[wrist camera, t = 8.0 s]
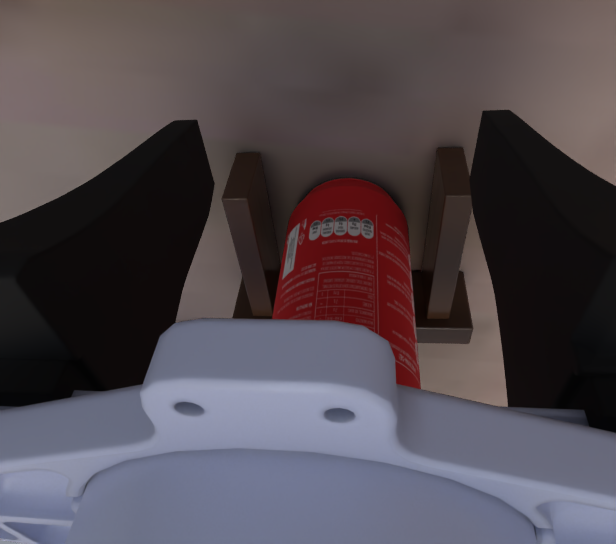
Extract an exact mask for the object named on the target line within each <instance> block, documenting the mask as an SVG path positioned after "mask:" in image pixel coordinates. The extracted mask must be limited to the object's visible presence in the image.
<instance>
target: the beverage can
mask: <svg viewBox="0 0 616 544" xmlns="http://www.w3.org/2000/svg"><path fill="white" fill-rule="evenodd" d="M272 319H286V320H335V321H341V322H346V323H352V324H358V325H363V326H365V327H366V328H368V329H369V330H371V331H373V332H374V333H376V334H378V335H379V336H381V337H382V338H384V339H386V340H387V341H388V342H389V344H390V347H391V349H392V352H393V354H394V357H395V369H396V384H399V385H404V386H408V387H413V388H417V389H421V386H420V373H419V361H418V348H417V336H416V323H415V310H414V298H413V285H412V273H411V260H410V247H409V235H408V225H407V221H406V219H405V216H404V214H403V213H402V211H401V210H400V208H399V207H398V206H397V205H396V204H395V202H394V200H393V199H392V197H391V196H390V195H389V194H388V192H386V191H385V190H384V189H383V188H382V187H380V186H379V185H377V184H375V183H373V182H370V181H368V180H365V179H360V178H353V177H343V178H335V179H331V180H328V181H325V182H323V183H321V184H319V185H317V186H316V187H314V188H313V189H312V190H311V191H310V192H309V193H308V194H307V195H306V196H305V198H304V199H303V201H301V202H300V203H299V204H298V205H297V207H296V208H295V209H294V211H293V212H292V214H291V216H290V219H289V223H288V228H287V234H286V240H285V246H284V252H283V257H282V263H281V269H280V275H279V281H278V287H277V293H276V298H275V304H274V310H273V316H272Z"/></svg>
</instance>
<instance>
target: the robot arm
mask: <svg viewBox="0 0 616 544" xmlns="http://www.w3.org/2000/svg"><path fill="white" fill-rule="evenodd" d="M469 182H470V191H471V200H472V208H473V214H474V218H475V222H476V225H477V229H478V233H479V237H480V240H481V244H482V247H483V251H484V254H485V258H486V262H487V265H488V269H489V272H490V276H491V280H492V284H493V289H494V293H495V300H496V306H497V313H498V320H499V327H500V335H501V343H502V351H503V359H504V369H505V379H506V388H507V399H508V407H498V406H493V405H489V404H484V403H480V402H475V401H471V400H467V399H462V398H458V397H453V396H449V395H444V394H440V393H435V392H431V391H426V390H422V389H417V388H413V387H408V386H404V385H399V384H396V369H395V357H394V354H393V352H392V349H391V347H390V344H389V342H388V341H387V340H386V339H384V338H382V337H381V336H379V335H378V334H376V333H374V332H373V331H371V330H369V329H368V328H366V327H365V326H363V325H358V324H352V323H346V322H341V321H335V320H286V319H233V318H201V319H195V320H188V321H182V322H178V323H175V321H176V316H177V312H178V307H179V303H180V299H181V294H182V290H183V287H184V283H185V280H186V277H187V274H188V271H189V269H190V266H191V263H192V260H193V258H194V255H195V252H196V249H197V247H198V244H199V241H200V238H201V236H202V233H203V230H204V227H205V224H206V221H207V218H208V216H209V211H210V207H211V202H212V196H213V190H214V185H215V183H214V180H213V176H212V173H211V169H210V165H209V162H208V158H207V154H206V151H205V147H204V143H203V140H202V136H201V132H200V129H199V125H198V121H197V120H177V121H173V122H171V123H170V124H168V125H167V126H165V127H164V128H162V129H161V130H159V131H158V132H157V133H155V134H154V135H153V136H151V137H150V138H149V139H147V140H146V141H145V142H143V143H142V144H141V145H139V146H138V147H137V148H135V149H134V150H133V151H131V152H130V153H129V154H128V155H126V156H125V157H123V158H122V159H121V160H119V161H118V162H116V163H115V164H113V165H112V166H110V167H109V168H107V169H106V170H105V171H103V172H102V173H100V174H99V175H97V176H96V177H94V178H93V179H91V180H89V181H88V182H86V183H84V184H83V185H81V186H79V187H77V188H76V189H74V190H72V191H70V192H68V193H67V194H65V195H63V196H61V197H59V198H57V199H55V200H53V201H51V202H48V203H46V204H44V205H42V206H40V207H37V208H35V209H33V210H31V211H29V212H27V213H24V214H22V215H19V216H17V217H14V218H12V219H9V220H7V221H4V222H1V223H0V540H3V541H10V542H15V543H21V544H616V186H615V185H613V184H611V183H609V182H607V181H605V180H604V179H602V178H600V177H598V176H597V175H595V174H593V173H592V172H590V171H589V170H587V169H586V168H584V167H583V166H581V165H580V164H578V163H577V162H575V161H574V160H572V159H571V158H570V157H568V156H567V155H565V154H564V153H563V152H561V151H560V150H559V149H557V148H556V147H555V146H553V145H552V144H551V143H550V142H548V141H547V140H546V139H545V138H543V137H542V136H541V135H540V134H539V133H537V132H536V131H535V130H534V129H533V128H531V127H530V126H529V125H528V124H527V123H525V122H524V121H523V120H522V119H520V118H519V117H518V116H517V115H515V114H514V113H513V112H511V111H510V110H490V111H483V112H482V117H481V122H480V127H479V133H478V138H477V143H476V148H475V153H474V158H473V164H472V169H471V174H470V179H469Z"/></svg>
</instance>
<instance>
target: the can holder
mask: <svg viewBox="0 0 616 544" xmlns="http://www.w3.org/2000/svg"><path fill="white" fill-rule="evenodd" d="M469 179H470V175H469V171H468V166H467V162H466V158H465V153H464V149H463V148H462V147H460V148H438V149H437V153H436V161H435V169H434V177H433V185H432V193H431V201H430V210H429V218H428V226H427V234H426V242H425V250H424V258H423V266H422V272H411V273H412V285H413V298H414V310H415V323H416V336H417V343H451V344H469V342H470V339H471V335H472V331H473V324H472V319H471V313H470V308H469V302H468V296H467V291H466V285H465V279H464V274H463V272H459V268H460V263H461V258H462V253H463V248H464V243H465V239H466V234H467V229H468V224H469V219H470V214H471V209H472V200H471V191H470V182H469ZM222 202H223V206H224V209H225V213H226V217H227V221H228V224H229V228H230V232H231V235H232V239H233V243H234V246H235V250H236V254H237V257H238V261H239V265H240V269H241V272H242V281H241V285H240V289H239V293H238V297H237V301H236V305H235V310H234V314H233V319H272V316H273V310H274V304H275V298H276V293H277V287H278V281H279V275H280V269H281V266H280V260H279V255H278V249H277V244H276V238H275V233H274V227H273V222H272V216H271V211H270V205H269V200H268V194H267V189H266V183H265V178H264V172H263V167H262V161H261V156H260V153H237V154H236V157H235V160H234V163H233V166H232V169H231V172H230V175H229V178H228V181H227V184H226V187H225V190H224V193H223V196H222Z"/></svg>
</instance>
